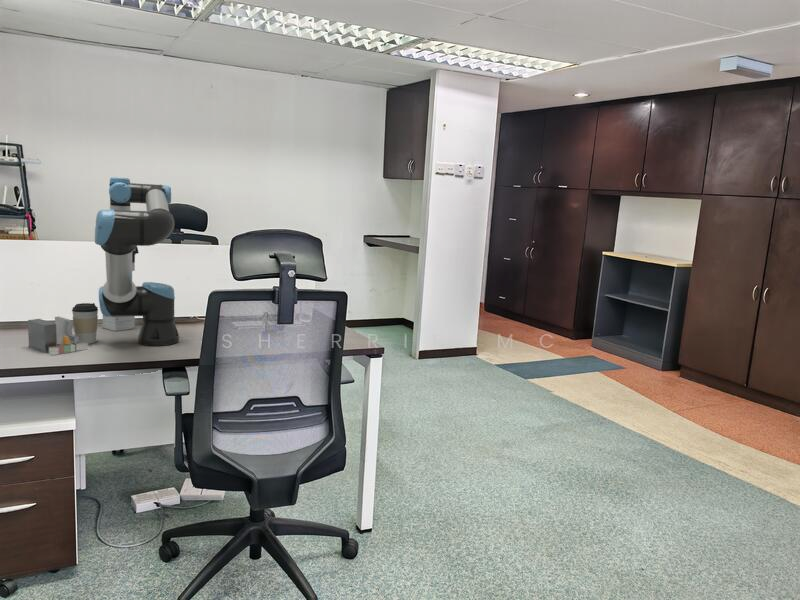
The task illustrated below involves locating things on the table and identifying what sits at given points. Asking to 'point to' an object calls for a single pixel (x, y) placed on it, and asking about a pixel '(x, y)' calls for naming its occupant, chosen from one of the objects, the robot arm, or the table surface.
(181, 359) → the table surface
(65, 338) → the orange stepped block
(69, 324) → the light grey slab
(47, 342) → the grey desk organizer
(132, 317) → the supplement box
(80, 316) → the coffee cup
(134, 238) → the robot arm
